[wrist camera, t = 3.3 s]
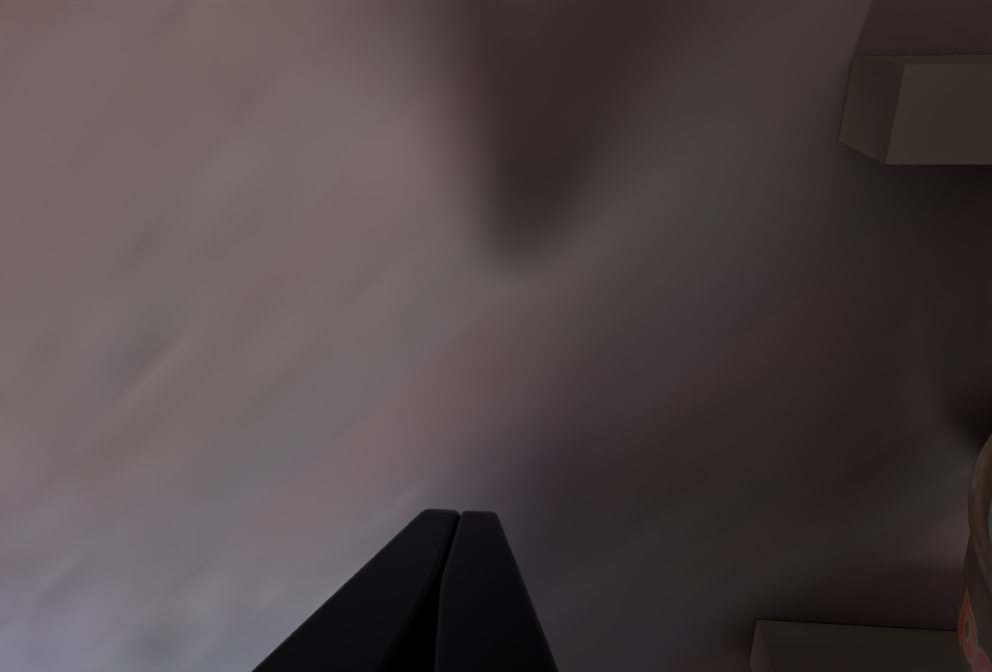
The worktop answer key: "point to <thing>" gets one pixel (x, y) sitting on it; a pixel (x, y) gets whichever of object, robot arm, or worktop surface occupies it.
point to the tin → (977, 571)
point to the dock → (894, 141)
